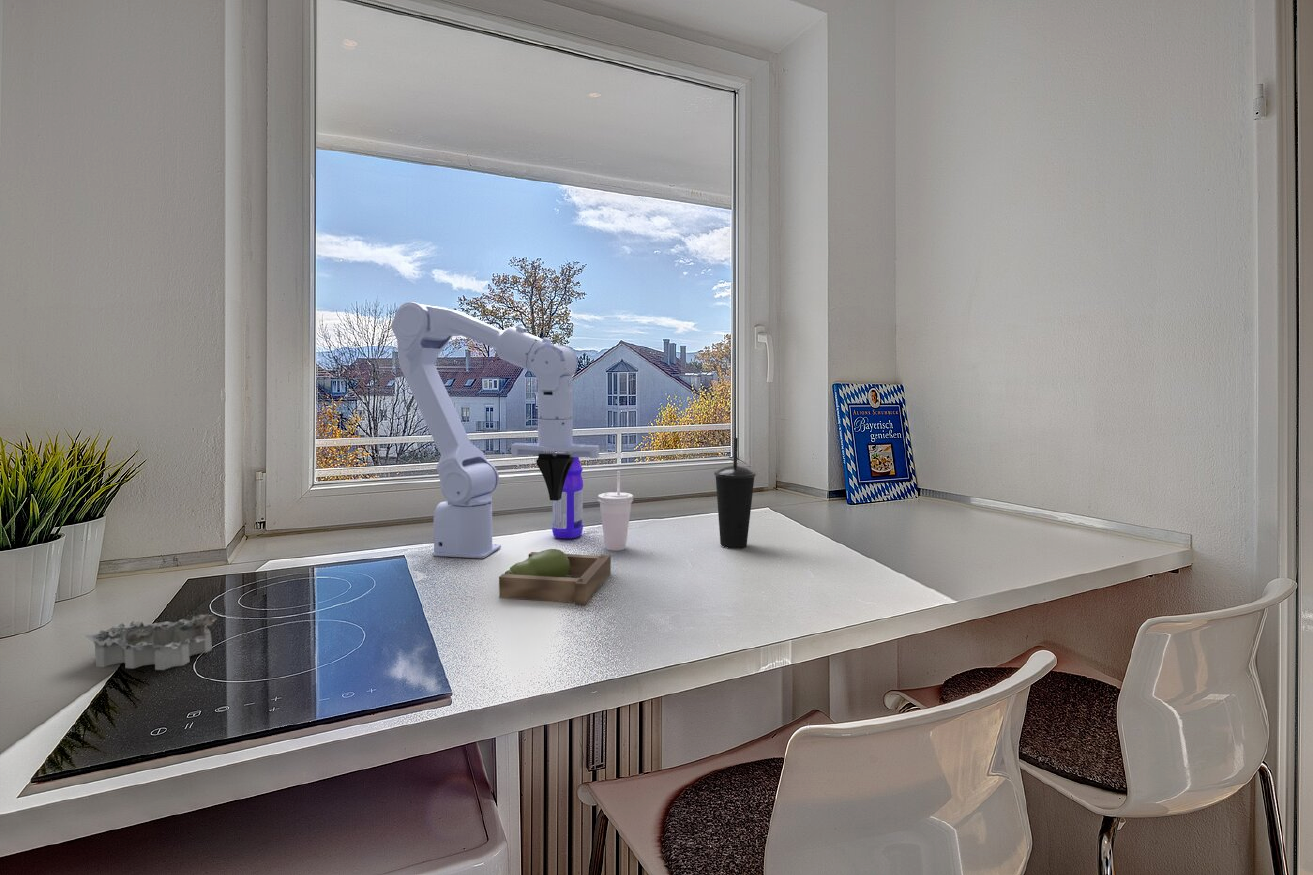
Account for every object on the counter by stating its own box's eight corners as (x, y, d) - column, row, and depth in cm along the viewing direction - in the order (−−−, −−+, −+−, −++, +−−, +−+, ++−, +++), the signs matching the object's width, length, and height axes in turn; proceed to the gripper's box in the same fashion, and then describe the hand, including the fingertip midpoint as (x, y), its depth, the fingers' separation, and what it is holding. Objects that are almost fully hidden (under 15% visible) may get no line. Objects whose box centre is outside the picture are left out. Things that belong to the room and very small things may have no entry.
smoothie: (628, 553, 120) (628, 474, 119) (593, 551, 121) (593, 473, 120) (636, 544, 126) (637, 469, 125) (603, 542, 128) (603, 468, 126)
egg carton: (223, 647, 79) (222, 613, 79) (168, 676, 72) (166, 638, 71) (142, 641, 80) (140, 607, 80) (80, 668, 73) (77, 631, 73)
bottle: (557, 531, 136) (557, 444, 135) (585, 531, 136) (585, 444, 134) (548, 539, 129) (548, 448, 127) (578, 540, 129) (578, 449, 127)
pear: (573, 549, 101) (509, 570, 96) (578, 582, 102) (515, 605, 97) (557, 541, 106) (496, 560, 101) (563, 573, 107) (502, 593, 102)
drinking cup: (707, 548, 124) (709, 438, 122) (719, 538, 131) (721, 435, 129) (748, 552, 121) (751, 440, 119) (758, 542, 128) (761, 437, 126)
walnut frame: (497, 599, 95) (496, 578, 95) (533, 568, 110) (533, 550, 110) (585, 605, 93) (585, 583, 93) (610, 573, 108) (610, 554, 108)
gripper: (504, 419, 110) (505, 502, 111) (591, 421, 108) (591, 505, 109) (519, 416, 117) (520, 494, 118) (602, 418, 115) (602, 497, 116)
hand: (555, 499), depth 114 cm, fingers closed
